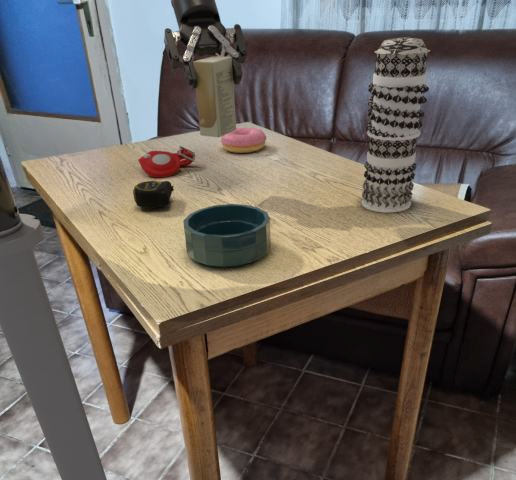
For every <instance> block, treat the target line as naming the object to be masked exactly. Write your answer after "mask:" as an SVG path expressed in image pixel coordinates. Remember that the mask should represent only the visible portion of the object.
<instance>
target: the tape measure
mask: <svg viewBox="0 0 516 480" xmlns="http://www.w3.org/2000/svg"><path fill="white" fill-rule="evenodd" d="M174 190H175V189H174V185H172V183H171V182H170V181H169V180H163V181H159V180H147V181H141V182H139V183H137V184H135V185H134V187H133V190H132V195H133V201H134V202H135V204H136V206H138V207H140V208H144V209H155V208H161V207H166V206H168V205H169V204H170V200H171V197H172V195H173V194H172V193H173V192H174Z"/></svg>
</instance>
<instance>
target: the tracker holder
mask: <svg viewBox="0 0 516 480" xmlns="http://www.w3.org/2000/svg"><path fill="white" fill-rule="evenodd" d="M196 156H197V155H196V152H194V151H192V150H190V149H189V148H186V147H184V146H182V145H179V146H178V150H177V151H176V152H170V151H162V150H150V151H148V152H147V153H145V154H144V155H142V156H141V157H139V158H138V162H139V164H140V167H141V169H142V170H143V172H144V173H145V174H147V175H148V176H150V177H154V178H167V177H170V176H171V177H172V176H173V175H175V174H176V173H177V172H178V171H179V170H180V168H182V167H187V166H190V165H191V164H193V162H196Z"/></svg>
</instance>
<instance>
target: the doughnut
mask: <svg viewBox="0 0 516 480" xmlns="http://www.w3.org/2000/svg"><path fill="white" fill-rule="evenodd" d="M266 141H267V136H266V133H265V132H264V131H263V130H262V129H261V128H255V127H236V130H234V131H232V132H230V133H228V134H226V135H224V136H221V137H220V142H221V146H222V148H223V149H224V150H225V151H227V152H230V153H236V154H246V153H253V152H257V151H260V150H261V149H263V148H264V147H265V145H266V143H267V142H266Z"/></svg>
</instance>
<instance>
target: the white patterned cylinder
mask: <svg viewBox="0 0 516 480" xmlns="http://www.w3.org/2000/svg"><path fill="white" fill-rule="evenodd" d="M429 52H431V50H430V49H428V48H427V46H426V43H425V41H424V40H423V39H421V38H419V37H393V38H387V39H385V40H383V41H382V43H381V44H380V46H379V47H378V49H377V50H375V51H374V53H375V54H376V55H375V66H374V67H375V69H374V73H373V75H372V82H371V83H369V84H368V88H367V91H368V92H369V93H370V95H371V96H370V97H369V98H368V99H367V105H368V107H369V108H368V109H367V113H366V115H367V116H368V118H369V121H367V124H366V125H367V126H366V128H367V131H366V135H367V136H368V137H369V142H368V151H367V152H366V161H365V163H364V165H363V167H364V169H365V171H364V174H363V177H364V178H365V180H364V181H363V182H362V188H363V190H362V193H361V197H362V198H363V199H362V200H361V205H362V207H363V208H365V209H367V210H368V211H369V210H370V211H371V212H377V213H385V214H387V213H399V212H404V211H406V210H408V209H410V207H411V206H412V202H411V200H412V198H413V192H412V191H413V190H414V186H415V183H413V181H412V180H414V179H415V176H416V173H415V172H413V171H415V170H416V168H417V163H415V162H416V156H417V152H416V147H417V138H419V137H420V136H421V133H422V132H421V129H420V128H422V127H423V122H422V121H420V119H421V118H422V117H425V112H424V111H423V110H422V109H421V105H424V104H425V103H427V101H428V99H427V98H426V97H425V95H423V94H426V93H428V92H429V90H430V87H429V86H428V85H426V81H427V72H426V69H427V62H428V55H429Z"/></svg>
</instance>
